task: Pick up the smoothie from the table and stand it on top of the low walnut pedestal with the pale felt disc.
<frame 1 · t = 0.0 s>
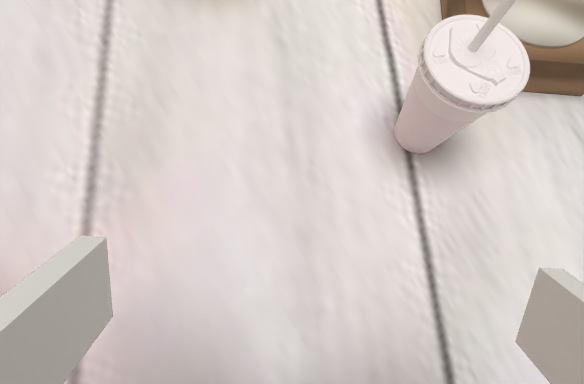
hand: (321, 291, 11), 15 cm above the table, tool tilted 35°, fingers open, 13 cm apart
pedestal: (506, 34, 34), on the table
smoothie: (415, 134, 31), on the table
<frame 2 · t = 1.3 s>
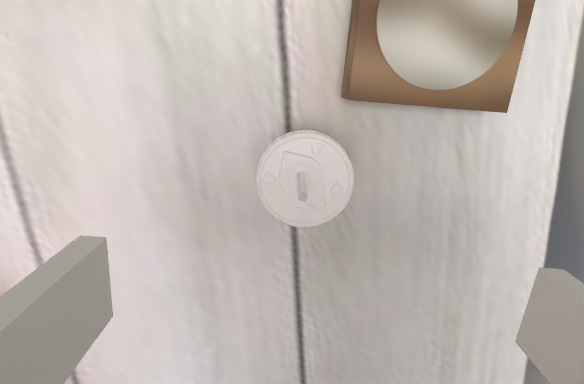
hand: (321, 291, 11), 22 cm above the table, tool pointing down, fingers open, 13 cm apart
pedestal: (424, 26, 29), on the table
smoothie: (300, 151, 33), on the table
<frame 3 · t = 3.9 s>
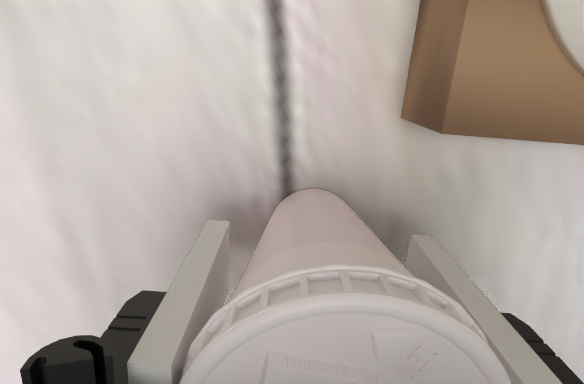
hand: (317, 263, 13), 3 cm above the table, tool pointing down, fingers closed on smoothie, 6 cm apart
smoothie: (312, 227, 16), on the table, touching gripper
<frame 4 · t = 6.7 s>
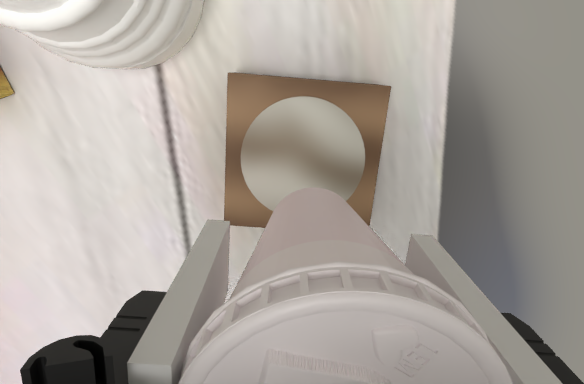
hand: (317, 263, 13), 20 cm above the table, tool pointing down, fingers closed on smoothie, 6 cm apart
pedestal: (301, 149, 32), on the table
smoothie: (312, 226, 16), point 17 cm above the table, touching gripper
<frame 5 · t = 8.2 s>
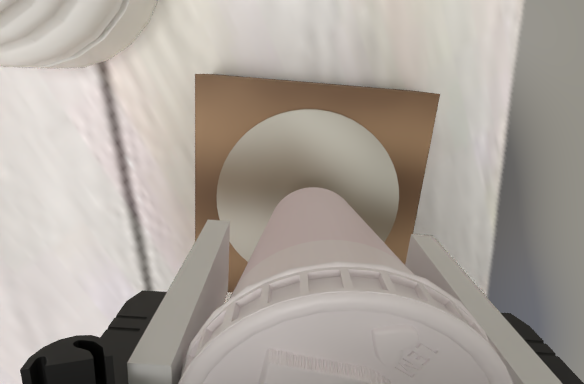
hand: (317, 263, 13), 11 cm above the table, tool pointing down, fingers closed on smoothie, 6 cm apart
pedestal: (304, 179, 23), on the table
smoothie: (312, 226, 16), point 8 cm above the table, touching gripper
when the fingers open (9 cm above the table, at t = 9.5 s): smoothie drops 1 cm, resting on pedestal.
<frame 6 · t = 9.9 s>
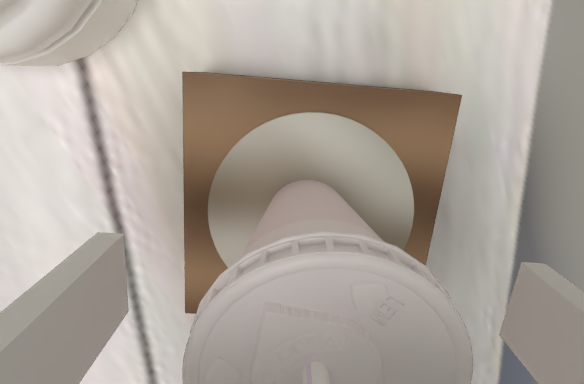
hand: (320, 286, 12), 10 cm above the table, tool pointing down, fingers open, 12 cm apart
pedestal: (306, 189, 21), on the table
smoothie: (306, 216, 17), point 4 cm above the table, touching pedestal
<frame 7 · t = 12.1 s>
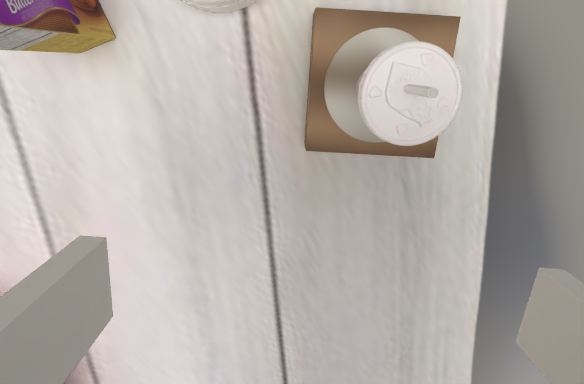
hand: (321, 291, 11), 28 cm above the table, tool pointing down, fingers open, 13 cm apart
pedestal: (369, 85, 36), on the table
smoothie: (377, 87, 32), point 4 cm above the table, touching pedestal
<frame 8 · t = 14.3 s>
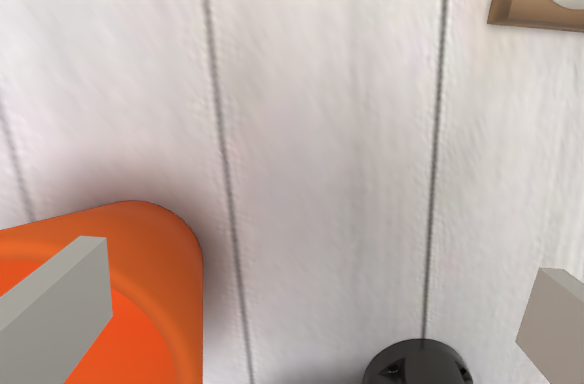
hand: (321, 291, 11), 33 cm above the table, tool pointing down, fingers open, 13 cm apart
flowerpot: (141, 258, 48), on the table
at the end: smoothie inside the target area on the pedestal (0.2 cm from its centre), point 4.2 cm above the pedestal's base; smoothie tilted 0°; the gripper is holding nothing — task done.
